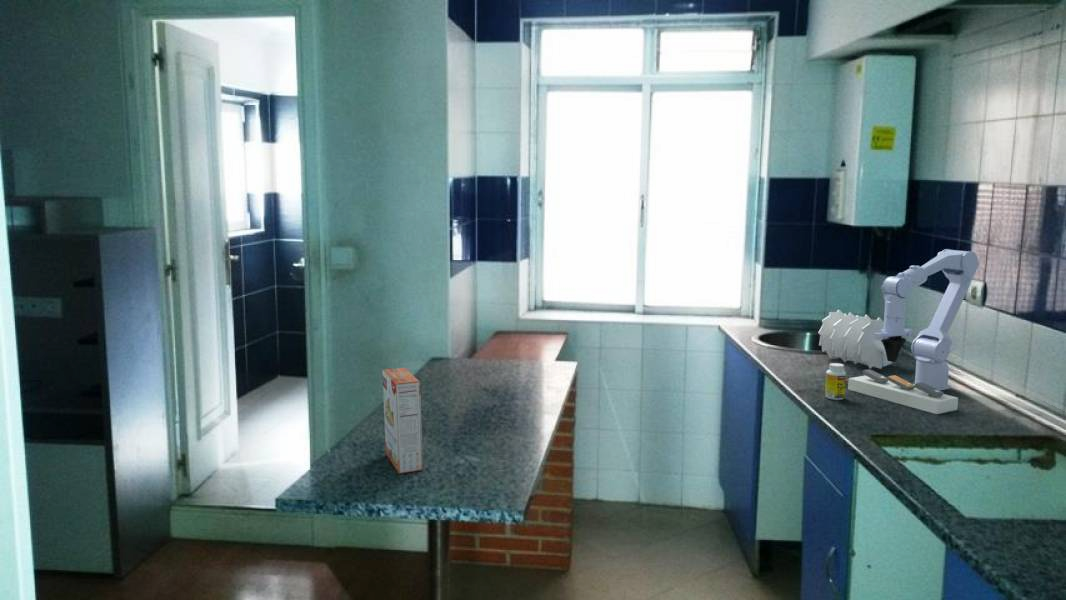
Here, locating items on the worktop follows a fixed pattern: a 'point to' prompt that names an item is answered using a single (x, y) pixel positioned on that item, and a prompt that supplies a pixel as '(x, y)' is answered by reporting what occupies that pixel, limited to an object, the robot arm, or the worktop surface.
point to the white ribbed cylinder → (853, 339)
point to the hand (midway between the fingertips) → (891, 361)
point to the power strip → (903, 395)
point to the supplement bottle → (835, 382)
